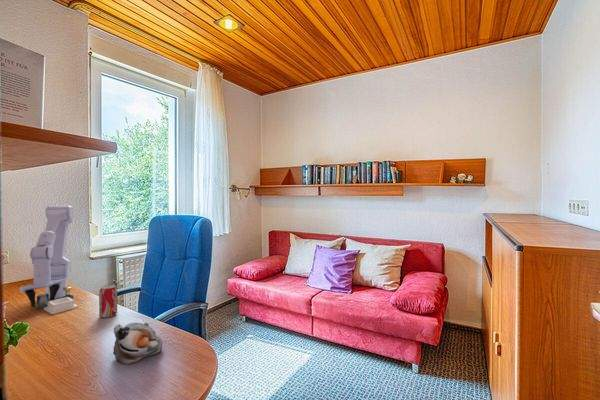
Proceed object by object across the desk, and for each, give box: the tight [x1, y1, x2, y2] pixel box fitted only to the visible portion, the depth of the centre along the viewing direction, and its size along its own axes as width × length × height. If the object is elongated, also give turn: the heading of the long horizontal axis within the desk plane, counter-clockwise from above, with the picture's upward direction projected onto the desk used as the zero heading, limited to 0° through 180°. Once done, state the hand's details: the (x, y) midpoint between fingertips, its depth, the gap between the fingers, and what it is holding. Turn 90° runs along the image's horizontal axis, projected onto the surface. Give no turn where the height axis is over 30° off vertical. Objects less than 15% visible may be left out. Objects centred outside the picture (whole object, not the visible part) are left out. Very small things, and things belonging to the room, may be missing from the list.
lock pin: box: [63, 285, 73, 297], centre depth 138 cm, size 3×3×4 cm
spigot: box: [36, 293, 50, 310], centre depth 133 cm, size 4×4×6 cm
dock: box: [43, 293, 79, 315], centre depth 133 cm, size 12×11×3 cm
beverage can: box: [98, 284, 118, 319], centre depth 124 cm, size 6×6×12 cm
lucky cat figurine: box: [112, 322, 163, 365], centre depth 92 cm, size 15×12×14 cm
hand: (42, 304), depth 133 cm, fingers open, 6 cm apart
